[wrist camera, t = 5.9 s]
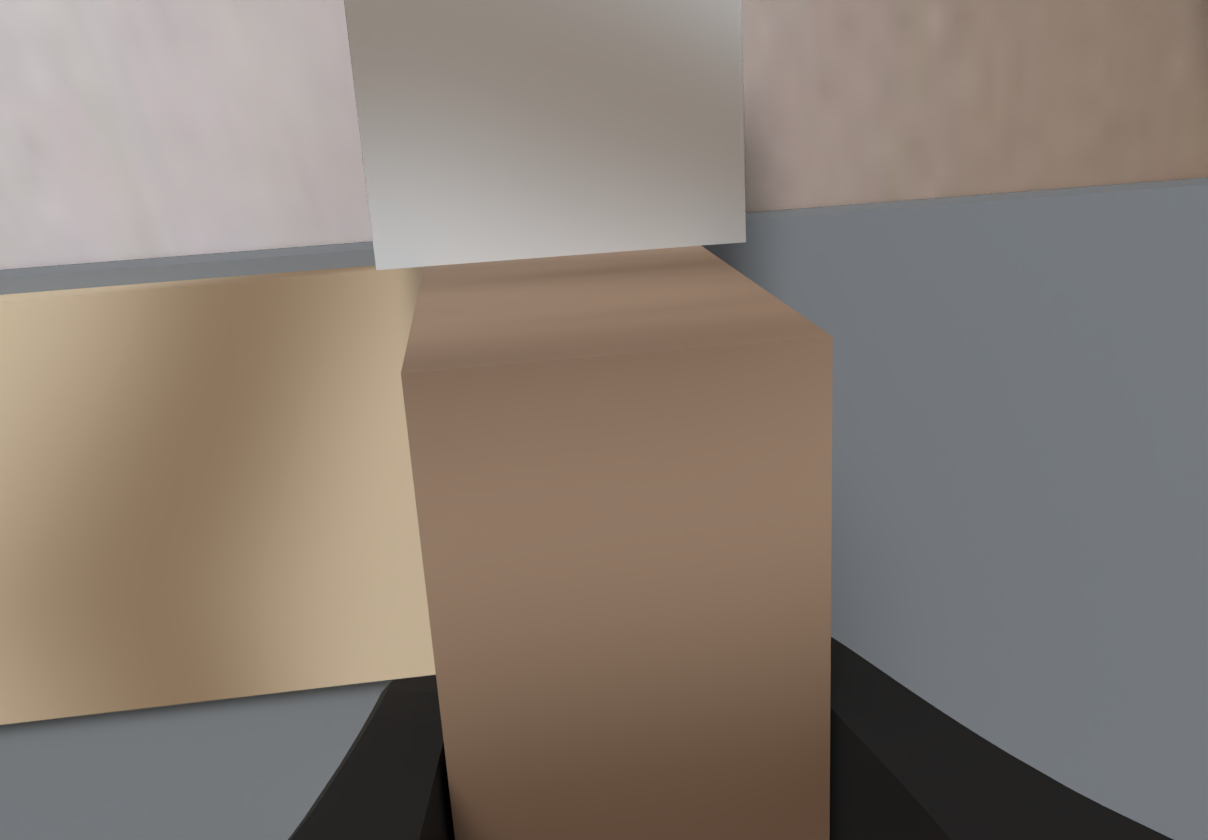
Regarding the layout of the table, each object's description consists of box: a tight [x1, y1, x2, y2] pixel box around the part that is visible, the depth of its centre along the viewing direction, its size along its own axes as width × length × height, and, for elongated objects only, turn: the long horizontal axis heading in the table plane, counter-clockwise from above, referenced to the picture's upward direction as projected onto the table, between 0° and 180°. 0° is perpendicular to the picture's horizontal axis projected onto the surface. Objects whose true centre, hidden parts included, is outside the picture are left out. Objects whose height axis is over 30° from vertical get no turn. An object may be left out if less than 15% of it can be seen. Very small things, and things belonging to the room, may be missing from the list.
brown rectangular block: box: [344, 0, 833, 840], centre depth 11 cm, size 12×4×5 cm, turn 3°
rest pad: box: [0, 265, 436, 725], centre depth 14 cm, size 10×6×1 cm, turn 93°
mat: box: [0, 178, 1208, 840], centre depth 17 cm, size 24×17×1 cm
